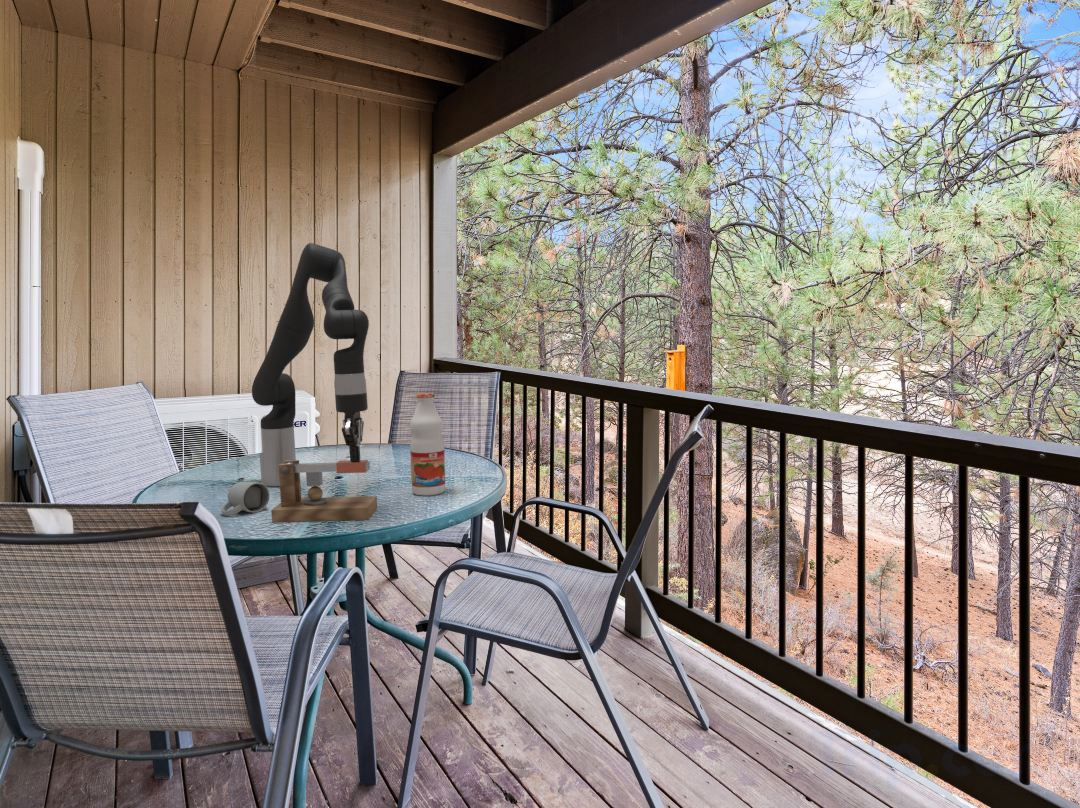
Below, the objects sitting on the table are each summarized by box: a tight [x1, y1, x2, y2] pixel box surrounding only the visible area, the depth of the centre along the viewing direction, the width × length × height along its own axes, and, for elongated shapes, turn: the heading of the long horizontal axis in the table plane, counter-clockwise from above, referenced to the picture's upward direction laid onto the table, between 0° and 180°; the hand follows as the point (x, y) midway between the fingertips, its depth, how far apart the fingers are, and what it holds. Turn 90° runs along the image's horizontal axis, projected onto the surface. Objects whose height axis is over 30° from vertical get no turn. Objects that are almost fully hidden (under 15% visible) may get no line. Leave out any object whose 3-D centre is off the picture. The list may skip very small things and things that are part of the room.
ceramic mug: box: [220, 481, 270, 517], centre depth 170 cm, size 11×8×8 cm
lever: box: [286, 459, 371, 487], centre depth 165 cm, size 21×3×6 cm, turn 92°
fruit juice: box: [409, 392, 446, 497], centre depth 186 cm, size 9×9×28 cm
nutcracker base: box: [270, 459, 378, 523], centre depth 165 cm, size 23×11×14 cm, turn 92°
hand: (355, 461), depth 165 cm, fingers closed
